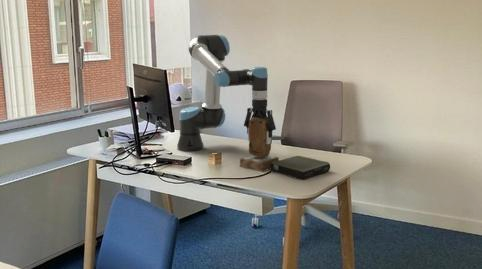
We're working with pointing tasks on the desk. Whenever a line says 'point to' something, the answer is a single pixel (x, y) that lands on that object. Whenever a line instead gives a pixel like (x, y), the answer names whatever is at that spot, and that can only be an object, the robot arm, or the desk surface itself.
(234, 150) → the desk surface
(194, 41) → the robot arm
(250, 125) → the block
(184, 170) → the desk surface
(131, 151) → the desk surface
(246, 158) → the plinth
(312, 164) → the network switch
